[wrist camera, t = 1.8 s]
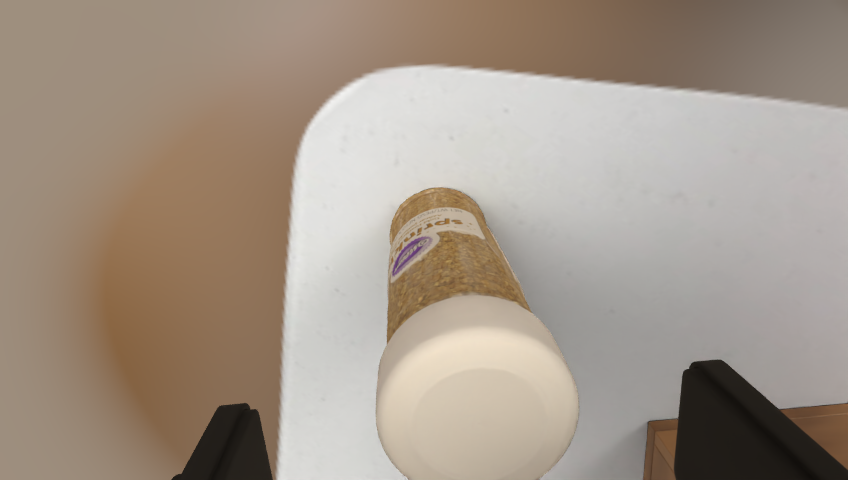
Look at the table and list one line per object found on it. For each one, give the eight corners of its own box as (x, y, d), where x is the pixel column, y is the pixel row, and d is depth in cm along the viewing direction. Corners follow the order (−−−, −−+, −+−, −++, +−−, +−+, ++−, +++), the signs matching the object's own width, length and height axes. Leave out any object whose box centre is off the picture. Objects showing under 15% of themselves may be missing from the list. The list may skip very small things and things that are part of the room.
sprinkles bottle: (421, 167, 23) (448, 294, 10) (505, 217, 24) (628, 392, 11) (371, 250, 24) (335, 460, 11) (452, 295, 25) (507, 537, 12)
